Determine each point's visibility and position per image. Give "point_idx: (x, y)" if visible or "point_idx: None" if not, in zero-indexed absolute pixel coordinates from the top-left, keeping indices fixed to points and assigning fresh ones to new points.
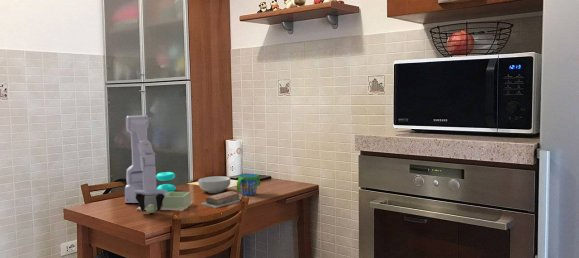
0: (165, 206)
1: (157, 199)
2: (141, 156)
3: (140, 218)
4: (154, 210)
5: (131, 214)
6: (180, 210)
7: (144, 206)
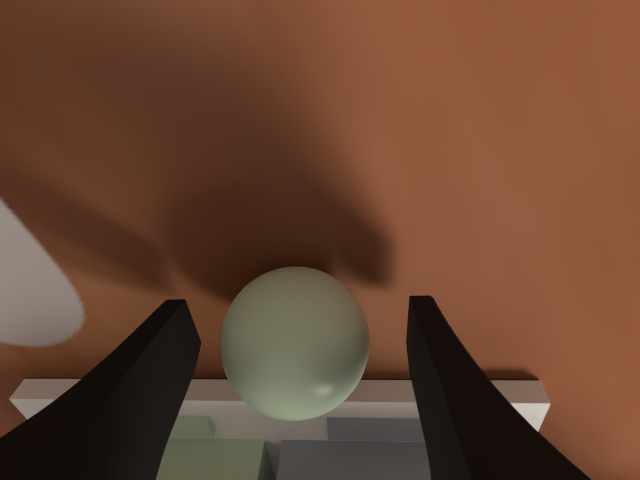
0: (231, 446)
1: (16, 471)
2: None
3: (339, 34)
4: (228, 308)
5: (576, 249)
6: (43, 383)
7: (413, 387)
